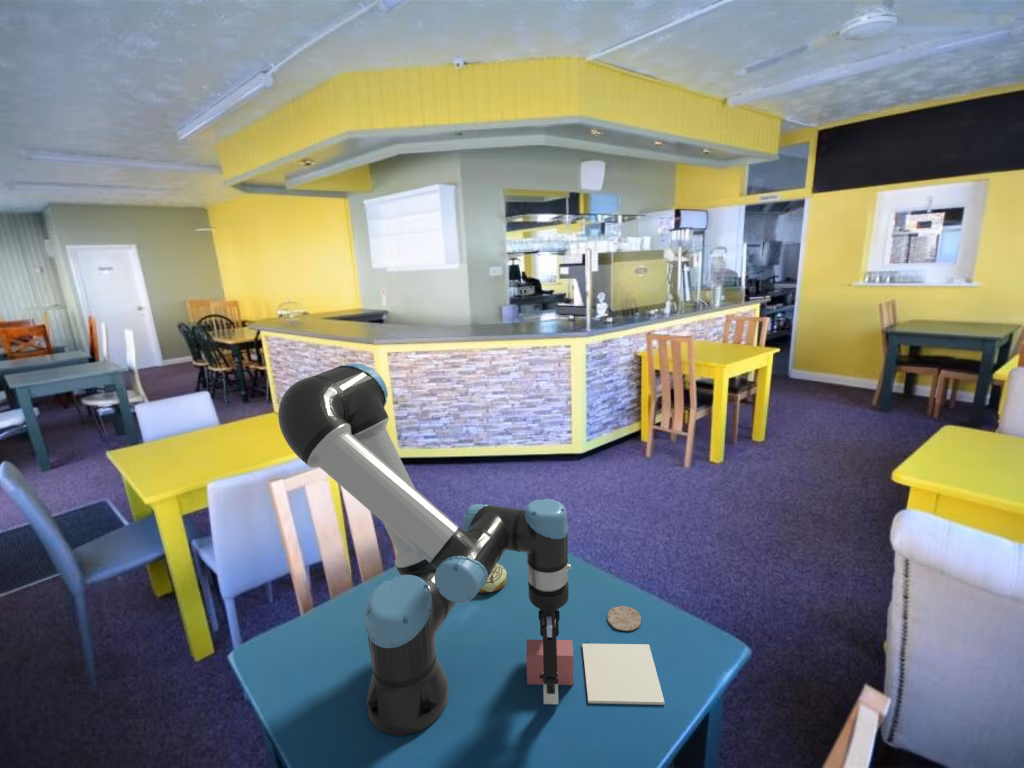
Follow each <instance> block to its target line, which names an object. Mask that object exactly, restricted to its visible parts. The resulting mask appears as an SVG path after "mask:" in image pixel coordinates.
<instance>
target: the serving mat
mask: <svg viewBox="0 0 1024 768" xmlns="http://www.w3.org/2000/svg"><path fill="white" fill-rule="evenodd" d="M581 645H582V656H583V662H584V663H583V664H584V674H585V685H586V694H587V695H586V697H587V703H588V704H607V705H610V704H613V705H615V704H616V705H657V706H658V705H659V706H660V705H661V706H665V698H664V695H663V692H662V687H661V683H660V680H659V677H658V676H659V675H658V673H657V669H656V665H655V661H654V658H653V654H652V650H651V647H650V644H648V643H647V644H643V643H642V644H641V643H640V644H638V643H635V644H633V643H582V644H581Z"/></svg>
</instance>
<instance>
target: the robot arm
mask: <svg viewBox="0 0 1024 768" xmlns="http://www.w3.org/2000/svg"><path fill="white" fill-rule="evenodd" d="M388 395H389V394H388V388H387V384H386V383H385V380H384V379H383V378H382V375H380V373H378V372H377V371H376V370H375V369H374V368H372V367H370V366H368V365H366V364H363V363H355V362H354V363H349V364H345V365H344V364H343V365H339V366H336V367H334V368H331V369H328V370H325V371H323V372H320V373H318V374H315V375H313V376H310V377H306V378H302V379H300V380H298V381H296V382H295V383H293V384H292V385H290V387H289V388H288V389H287V390H286V391H285V393H284V394H283V395H282V397H281V400H280V402H279V406H278V411H277V412H278V413H277V414H278V415H277V417H278V424H279V427H280V428H279V429H280V432H281V435H282V436H283V438H284V440H285V442H286V444H287V446H289V448H290V449H291V450H292V452H293V453H294V454H295V456H297V457H298V458H299V459H300V460H301V461H303V463H305V464H306V465H307V466H308V467H309V468H320V469H321V470H322V471H324V473H326V474H327V475H328V476H329V477H330V478H331V479H332V480H334V481H335V482H336V483H337V484H338V485H339V486H340V487H342V488H343V489H344V490H346V492H347V493H349V494H350V495H351V496H352V498H354V499H355V500H357V501H358V502H359V503H360V505H362V506H363V507H364V508H366V509H367V510H368V511H369V512H370V513H371V514H373V515H374V516H376V518H377V519H379V520H380V521H381V522H382V524H383V526H384V528H385V530H386V532H387V534H388V536H389V538H390V540H391V542H392V544H393V545H394V548H395V549H396V553H397V554H396V557H395V560H394V565H395V567H396V569H397V571H398V574H399V575H397V576H394V577H392V580H389V579H387V580H385V581H384V582H382V583H380V584H379V585H378V586H377V587H376V588H375V589H374V590H373V591H372V593H371V594H370V596H369V597H368V600H367V603H366V607H365V631H366V634H367V640H368V647H369V652H370V659H371V660H370V661H371V667H372V675H371V679H370V682H369V683H370V684H369V687H368V690H367V695H366V705H367V707H366V708H367V712H368V713H367V714H368V717H369V720H370V721H371V723H372V725H373V726H374V727H375V728H376V729H377V730H378V731H381V732H382V733H384V734H387V735H390V736H409V735H413V734H416V733H419V732H422V730H424V729H426V728H428V727H430V726H431V725H432V724H433V723H435V722H436V721H437V720H438V719H439V718H440V717H441V715H442V713H443V712H444V711H445V708H446V707H447V704H448V701H449V697H450V696H449V694H450V693H449V683H448V677H447V675H446V672H445V671H444V668H443V667H442V665H441V663H440V661H439V659H438V658H437V657H438V656H437V652H436V651H437V650H436V642H435V639H436V634H437V632H438V631H439V629H440V627H441V626H442V624H443V623H444V622H445V620H446V619H447V617H448V615H449V614H450V613H451V611H452V610H453V608H454V606H455V605H456V604H465V603H468V602H471V601H472V600H473V599H474V598H475V597H476V596H477V595H478V592H479V590H480V589H481V588H482V587H483V586H484V585H485V584H486V581H487V579H488V577H489V575H490V574H491V572H492V570H493V569H494V567H495V565H496V564H497V563H498V562H499V561H500V559H501V557H502V556H503V554H504V553H505V551H506V550H507V551H512V552H513V551H514V552H518V553H520V552H521V553H526V554H527V560H526V562H527V563H526V564H527V565H526V567H527V580H528V581H527V583H528V599H529V601H530V603H531V604H532V605H533V606H534V608H535V607H536V608H537V609H539V610H538V620H539V634H540V636H541V637H542V640H543V669H544V672H543V675H540V679H543V686H542V687H543V688H542V691H543V705H559V685H558V672H557V643H556V640H557V637H558V636H559V634H560V633H559V629H560V628H559V621H560V620H561V619H560V610H559V609H561V608H562V607H564V606H566V604H567V602H568V600H569V570H572V564H570V563H569V556H568V554H569V553H568V551H569V549H568V548H569V547H568V545H569V544H568V542H569V525H568V514H567V510H566V507H565V506H564V504H562V503H561V502H560V501H558V500H555V499H552V498H545V499H535V500H533V501H531V502H529V503H528V504H527V505H526V508H525V509H519V508H512V507H506V506H501V505H495V504H494V505H493V504H490V503H489V504H482V503H481V504H480V503H475V504H472V505H470V506H469V507H468V508H467V510H466V511H465V515H464V516H463V518H462V519H463V520H462V525H461V527H460V526H459V525H457V524H456V523H455V522H454V521H453V520H451V519H450V518H449V517H448V516H447V515H446V514H445V513H444V512H442V511H441V510H440V509H439V508H438V507H437V506H436V505H434V504H433V502H431V501H430V500H428V499H427V498H426V497H425V495H423V494H422V493H421V492H419V491H418V490H417V489H416V488H415V486H414V484H413V482H412V479H411V478H410V475H409V473H408V471H407V469H406V467H405V465H404V463H403V461H402V459H401V457H400V456H399V453H398V451H397V449H396V447H395V445H394V443H393V440H392V439H391V437H390V435H389V433H388V431H387V425H388V421H389V419H390V417H389V415H388V412H387V410H386V408H385V406H386V404H387V401H388V399H387V398H388Z"/></svg>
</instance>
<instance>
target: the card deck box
mask: <svg viewBox="0 0 1024 768" xmlns="http://www.w3.org/2000/svg"><path fill="white" fill-rule="evenodd" d="M556 643H557V672H558V686H574V648H573V647H574V646H573V640H572V639H556ZM525 654H526V655H525V657H526V658H525V659H526V684H527V685H540V686H541V685H543V679H540V675H543V672H544V669H543V639H530V638H529V639H526V653H525Z"/></svg>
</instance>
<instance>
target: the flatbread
mask: <svg viewBox="0 0 1024 768" xmlns="http://www.w3.org/2000/svg"><path fill="white" fill-rule="evenodd" d="M606 617H607V618H606V620H607V622H608V624H609V625H610V626H611V627H612V628H613V629H614V630H616V631H620V632H621V631H623V632H633V631H634V630H636V629H637V628H639V627H640V626H641V623H642V617H641V615H640V613H639V611H638V610H637V609H635V608H632V607H630V606H626V605H619V606H614V607H612V608H610V609H609V611H608V612H607V616H606Z"/></svg>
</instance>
